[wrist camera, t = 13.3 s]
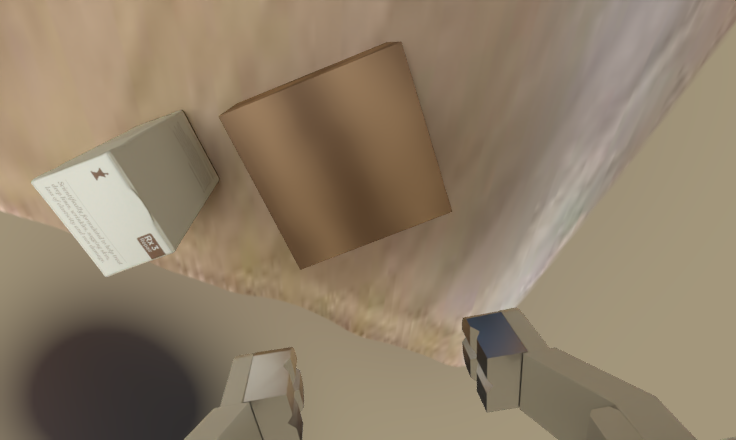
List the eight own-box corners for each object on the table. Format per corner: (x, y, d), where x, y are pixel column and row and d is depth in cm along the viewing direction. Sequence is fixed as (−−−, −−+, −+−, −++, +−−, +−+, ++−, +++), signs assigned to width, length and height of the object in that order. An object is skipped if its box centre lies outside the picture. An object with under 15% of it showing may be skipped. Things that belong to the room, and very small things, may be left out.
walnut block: (386, 42, 29) (401, 41, 23) (430, 184, 34) (452, 211, 28) (237, 103, 29) (218, 116, 24) (303, 234, 34) (300, 269, 29)
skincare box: (131, 128, 29) (14, 179, 18) (186, 106, 29) (103, 145, 18) (175, 200, 31) (97, 283, 20) (226, 181, 31) (175, 254, 20)
